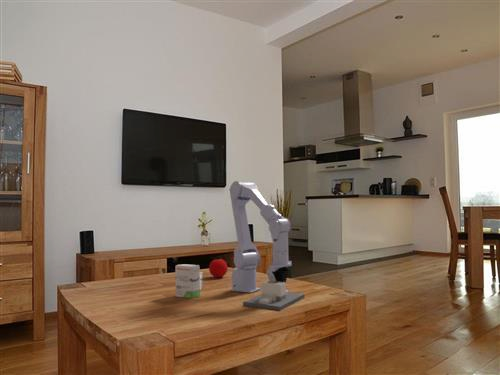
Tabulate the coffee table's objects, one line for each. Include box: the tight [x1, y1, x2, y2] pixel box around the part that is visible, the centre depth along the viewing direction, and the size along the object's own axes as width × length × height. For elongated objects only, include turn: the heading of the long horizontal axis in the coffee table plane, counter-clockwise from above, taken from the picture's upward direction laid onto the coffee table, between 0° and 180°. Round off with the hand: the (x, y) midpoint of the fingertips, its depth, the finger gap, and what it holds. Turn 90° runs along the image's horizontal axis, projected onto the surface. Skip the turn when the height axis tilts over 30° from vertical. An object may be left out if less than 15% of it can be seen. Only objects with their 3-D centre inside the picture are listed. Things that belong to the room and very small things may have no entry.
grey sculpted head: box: [266, 270, 276, 281], centre depth 165 cm, size 6×7×7 cm
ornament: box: [208, 256, 229, 278], centre depth 179 cm, size 9×9×10 cm
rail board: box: [242, 289, 305, 311], centre depth 130 cm, size 14×20×3 cm
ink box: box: [174, 263, 201, 299], centre depth 140 cm, size 9×5×12 cm, turn 59°
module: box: [260, 280, 287, 301], centre depth 129 cm, size 8×4×6 cm, turn 59°
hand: (281, 288), depth 135 cm, fingers closed
